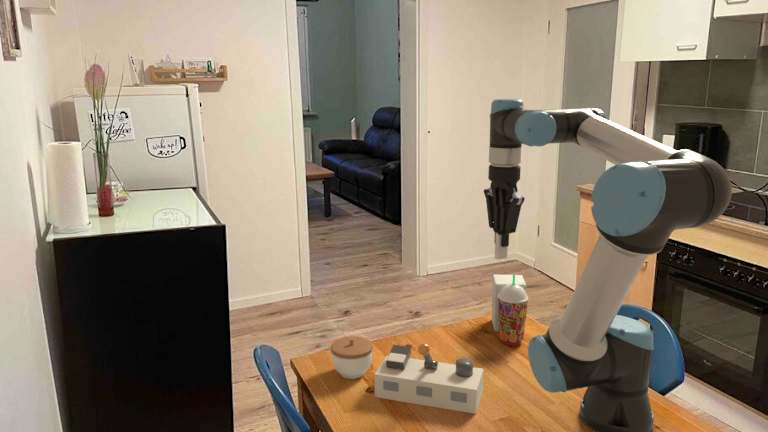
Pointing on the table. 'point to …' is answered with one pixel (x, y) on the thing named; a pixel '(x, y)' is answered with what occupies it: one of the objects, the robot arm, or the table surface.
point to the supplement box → (498, 284)
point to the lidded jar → (352, 356)
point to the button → (464, 367)
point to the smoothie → (512, 313)
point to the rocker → (398, 357)
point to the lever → (427, 357)
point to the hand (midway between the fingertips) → (500, 257)
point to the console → (430, 386)
